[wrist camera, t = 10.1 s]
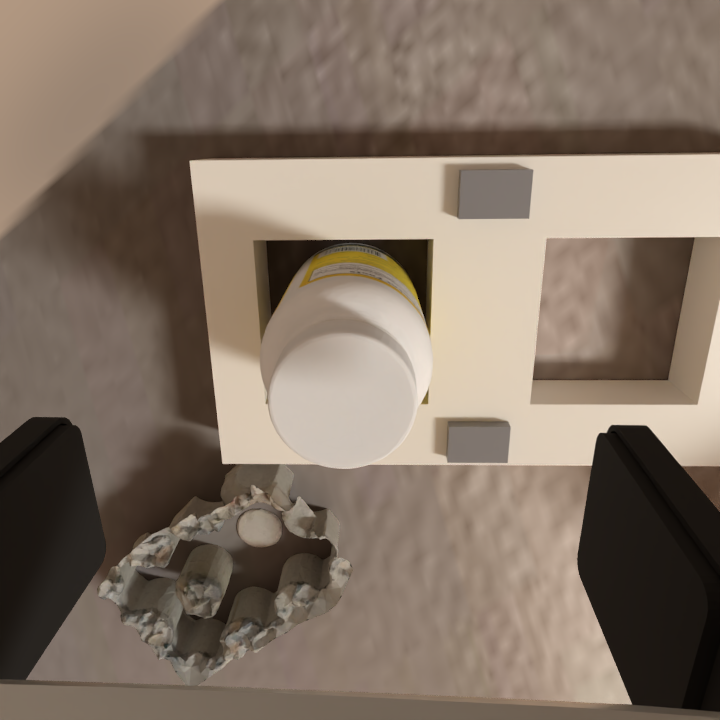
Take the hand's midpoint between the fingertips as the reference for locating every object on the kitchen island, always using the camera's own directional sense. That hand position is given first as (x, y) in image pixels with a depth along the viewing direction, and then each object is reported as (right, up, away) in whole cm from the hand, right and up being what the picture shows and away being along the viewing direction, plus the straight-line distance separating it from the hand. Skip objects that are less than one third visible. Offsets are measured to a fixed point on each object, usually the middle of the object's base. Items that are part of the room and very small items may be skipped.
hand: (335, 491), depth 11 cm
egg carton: (-6, -7, +19) cm, 21 cm away
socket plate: (+5, +5, +14) cm, 15 cm away
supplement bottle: (0, +5, +14) cm, 15 cm away
